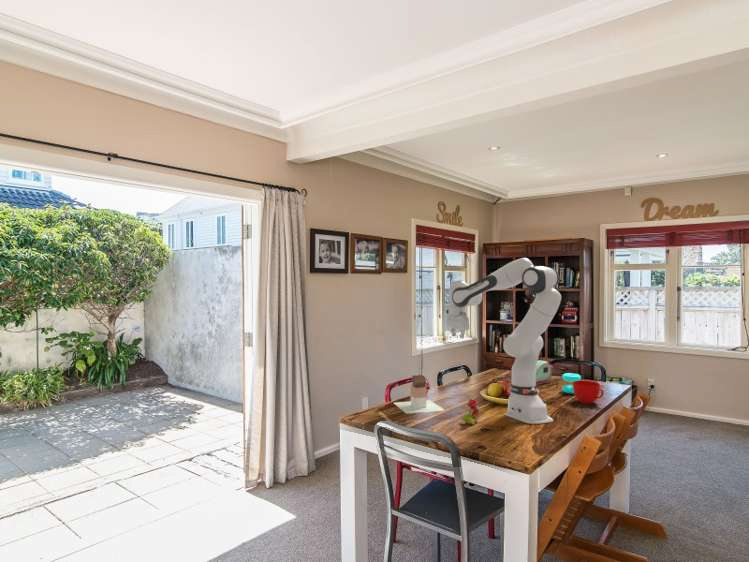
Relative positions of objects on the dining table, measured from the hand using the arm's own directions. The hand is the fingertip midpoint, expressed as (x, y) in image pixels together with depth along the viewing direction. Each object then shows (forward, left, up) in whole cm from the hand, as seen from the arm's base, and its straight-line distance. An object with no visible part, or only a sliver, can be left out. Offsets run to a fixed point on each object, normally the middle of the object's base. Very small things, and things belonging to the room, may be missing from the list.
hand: (457, 337), depth 256 cm
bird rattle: (-40, +12, -34) cm, 53 cm away
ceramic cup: (-25, -63, -34) cm, 76 cm away
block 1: (-12, +27, -27) cm, 40 cm away
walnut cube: (-12, +27, -22) cm, 37 cm away
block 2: (-12, +27, -32) cm, 43 cm away
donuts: (-2, -70, -34) cm, 78 cm away
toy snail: (+24, -67, -34) cm, 79 cm away
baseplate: (-12, +27, -33) cm, 44 cm away
